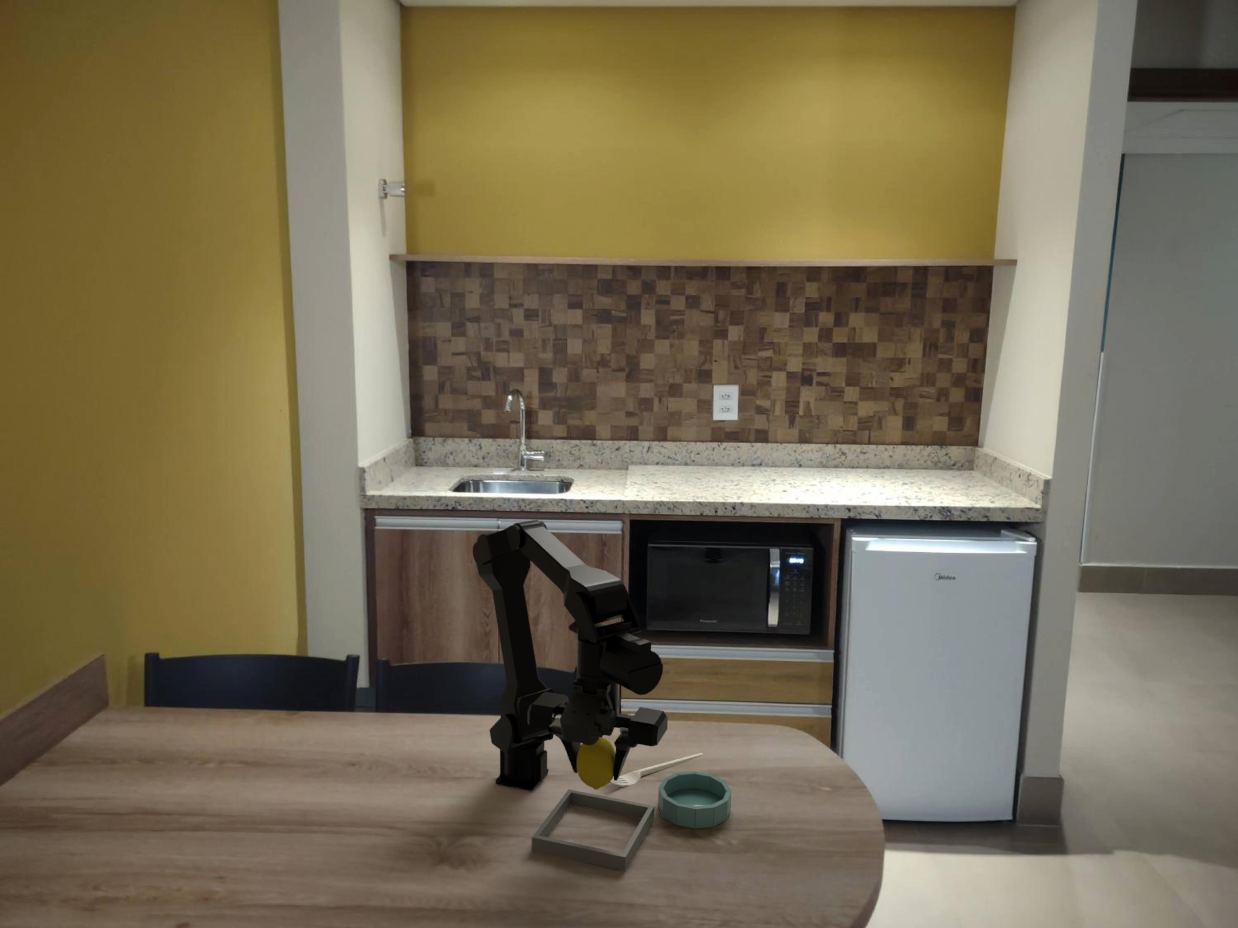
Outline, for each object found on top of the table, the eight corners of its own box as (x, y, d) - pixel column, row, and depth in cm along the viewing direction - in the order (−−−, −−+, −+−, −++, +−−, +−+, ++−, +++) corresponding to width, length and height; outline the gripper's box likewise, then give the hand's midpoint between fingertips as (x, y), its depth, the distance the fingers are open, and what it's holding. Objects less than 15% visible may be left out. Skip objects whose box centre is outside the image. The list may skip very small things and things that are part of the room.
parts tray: (531, 850, 126) (531, 836, 125) (568, 801, 138) (568, 789, 138) (625, 870, 122) (625, 857, 121) (654, 818, 134) (654, 805, 134)
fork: (709, 761, 153) (710, 751, 152) (610, 793, 141) (610, 782, 141) (696, 753, 155) (697, 743, 155) (598, 784, 144) (599, 773, 143)
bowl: (650, 819, 134) (651, 800, 133) (669, 784, 144) (670, 766, 143) (721, 833, 131) (721, 813, 130) (735, 797, 140) (736, 778, 140)
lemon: (611, 801, 125) (612, 746, 124) (571, 796, 126) (572, 742, 125) (619, 781, 131) (620, 728, 129) (581, 776, 132) (582, 724, 130)
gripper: (510, 681, 121) (510, 791, 124) (646, 703, 115) (643, 818, 118) (543, 652, 131) (543, 753, 134) (670, 670, 126) (667, 776, 128)
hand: (596, 775), depth 128 cm, fingers closed on lemon, 5 cm apart
